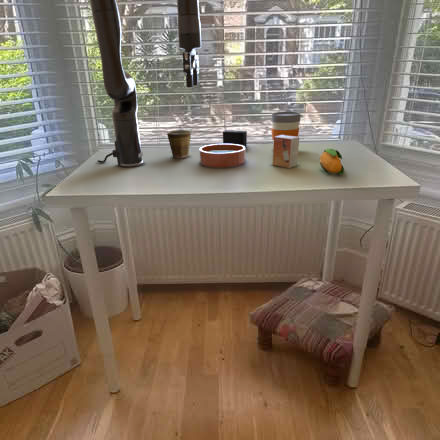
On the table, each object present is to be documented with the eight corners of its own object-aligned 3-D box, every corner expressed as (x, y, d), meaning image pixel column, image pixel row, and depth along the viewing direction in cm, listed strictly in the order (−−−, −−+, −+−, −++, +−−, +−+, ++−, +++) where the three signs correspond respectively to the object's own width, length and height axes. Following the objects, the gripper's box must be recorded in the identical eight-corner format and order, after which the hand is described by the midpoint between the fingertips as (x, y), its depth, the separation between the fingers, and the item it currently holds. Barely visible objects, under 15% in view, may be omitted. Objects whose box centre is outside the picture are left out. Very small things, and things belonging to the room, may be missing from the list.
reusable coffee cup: (264, 151, 176) (265, 114, 168) (278, 146, 184) (279, 111, 177) (290, 154, 169) (292, 116, 162) (303, 149, 178) (305, 112, 170)
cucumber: (206, 162, 160) (205, 151, 158) (208, 160, 164) (207, 149, 162) (238, 162, 158) (238, 151, 156) (239, 160, 162) (239, 149, 160)
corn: (338, 144, 147) (351, 156, 130) (337, 165, 151) (349, 179, 134) (317, 146, 148) (328, 158, 131) (317, 166, 152) (327, 181, 135)
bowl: (196, 167, 155) (195, 153, 152) (205, 157, 170) (204, 143, 167) (242, 168, 152) (242, 153, 149) (247, 157, 167) (247, 143, 165)
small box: (272, 165, 155) (273, 136, 149) (280, 162, 158) (281, 134, 153) (289, 168, 150) (291, 138, 144) (297, 165, 153) (299, 136, 148)
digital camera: (247, 146, 187) (247, 130, 184) (243, 148, 183) (243, 132, 180) (227, 145, 191) (227, 129, 188) (223, 147, 187) (222, 131, 183)
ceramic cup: (196, 156, 171) (195, 132, 166) (176, 160, 167) (174, 135, 162) (181, 152, 181) (180, 128, 176) (162, 155, 176) (159, 131, 171)
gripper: (183, 33, 140) (187, 85, 149) (173, 31, 128) (177, 88, 137) (204, 32, 139) (206, 84, 148) (195, 30, 127) (198, 87, 136)
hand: (192, 86), depth 142 cm, fingers open, 8 cm apart
